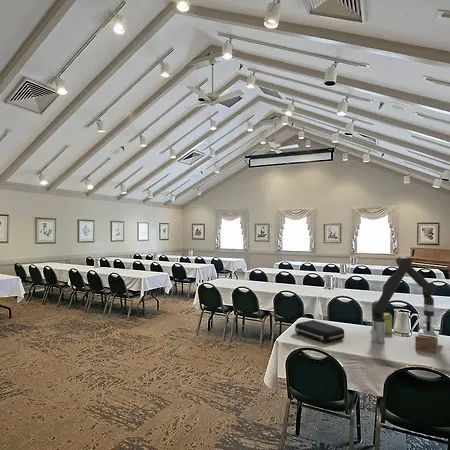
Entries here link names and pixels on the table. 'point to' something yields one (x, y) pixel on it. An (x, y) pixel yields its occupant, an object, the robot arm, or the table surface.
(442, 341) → the table surface
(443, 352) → the table surface
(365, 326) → the table surface
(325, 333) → the briefcase
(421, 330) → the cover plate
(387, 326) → the protein box
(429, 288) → the robot arm
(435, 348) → the walnut box
